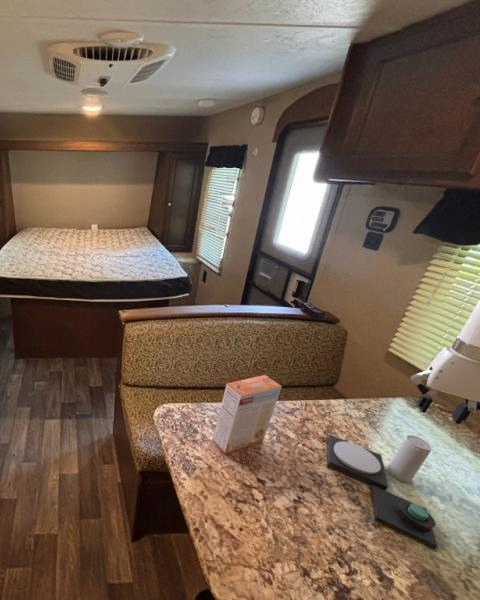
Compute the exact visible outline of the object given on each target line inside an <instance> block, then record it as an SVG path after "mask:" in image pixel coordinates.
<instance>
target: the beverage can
mask: <svg viewBox="0 0 480 600" xmlns="http://www.w3.org/2000/svg"><path fill="white" fill-rule="evenodd" d="M431 452H432V445H431V444H430V443H429V442H428V441H426V440H424V439H422V438H421V437H419V436H417V435H412V434H411V435H407V436H406V437H404V439H403V440H402V442H401V444H400V446H399V447H398V449H397V451H396V452H395V454H394V456H393V457H392V459H391V460H390V462H389V464H388V466H387V467H386V469H387V472H388V473H389V475H390V476H391V477H393V478H394V479H395V480H397V481H399V482H401V483H402V482H403V483H410V482H412V480H413V479H414V477H415V476H416V474H417V473H418V471H419V469H420V468H421V467H422V465H423V464H424V463H425V461H426V459H427V458H428V456H429V454H430V453H431Z"/></svg>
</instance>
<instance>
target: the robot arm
mask: <svg viewBox="0 0 480 600" xmlns="http://www.w3.org/2000/svg"><path fill="white" fill-rule="evenodd" d="M409 379H410V381H411V382H412V383H413V384H414V386H416V387H417V389H418V390H419V392H420V393H421V394H420V397H418V399H417V401H416V406H417V407H418V408H419V411H420V413H423V414H425V413H427V411H428V409H429V408H430V407H431V405H432V403H433V399H432V398H433V397H434V396H436V395H437V394H438V393H441V392H442V393H445V394H449V395H452V396H455V397H459V398H462V399H464V400H463V402H462V403H461V402H460V403H458V405H457V406H456V408H455V409H454V410H453V412H452V414H451V417H452V420H453V422H454V423H455V424H457V425H461V424H462V422H463V421H466V420H467V419H468V418H469V416H470V414H471V413H475V412H477V411H479V410H480V299H479V300H478V302H477V303H476V305H475V307H474V309H473V310H472V312H471V314H470V315H469V316H468V318H467V320H466V322H465V324H464V326H463V327H462V329H461V330H460V332H459V333H458V335H457V337H456V339H455V341H454V342H453V344H452V346H445V347H444V348H442V350H440V352H439V353H438V354H437V355H436V356H435V357H434V358H433V360H432V361H431V362H430V363H429V365H428V366H427V368H426V369H425V370H424V371H422V372H419V373H415V374H412V375H410V376H409ZM424 380H426V385H425V384H424V383H423V382H422V381H424Z"/></svg>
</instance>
